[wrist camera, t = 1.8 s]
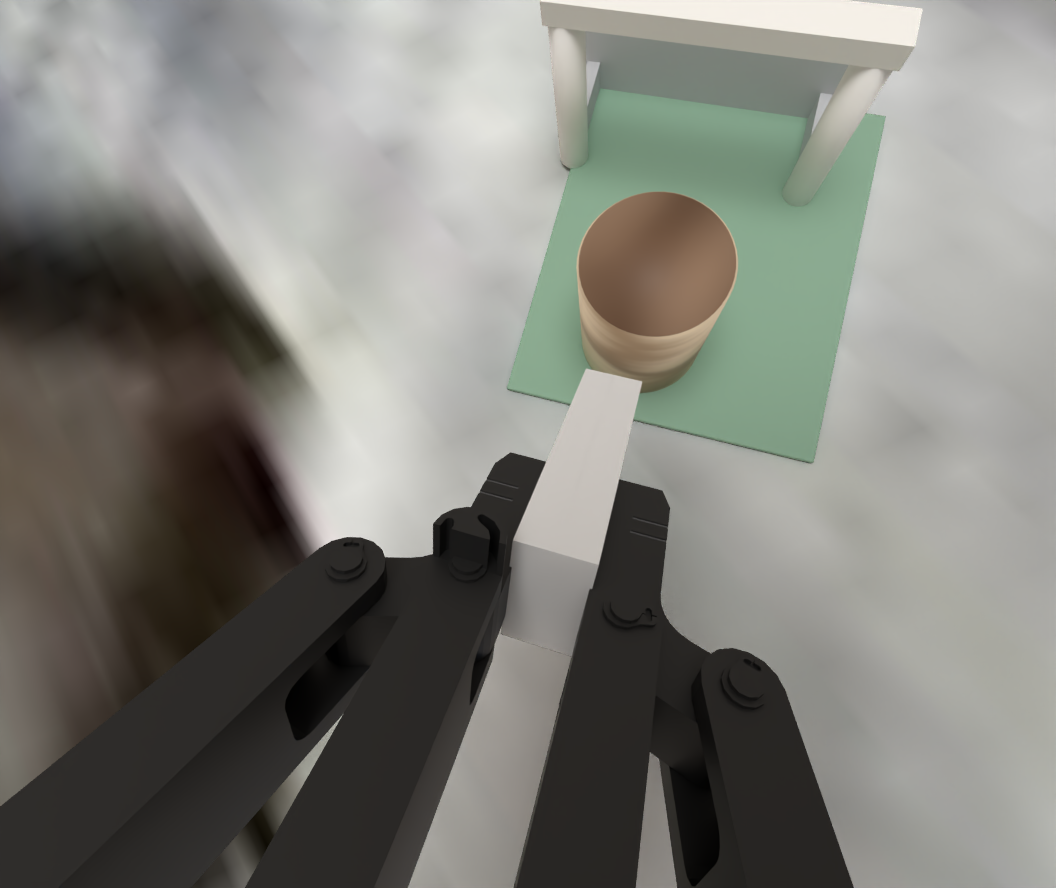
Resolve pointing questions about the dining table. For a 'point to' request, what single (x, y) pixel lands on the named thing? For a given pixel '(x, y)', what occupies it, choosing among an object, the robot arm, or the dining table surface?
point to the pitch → (763, 266)
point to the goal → (731, 64)
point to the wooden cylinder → (652, 286)
